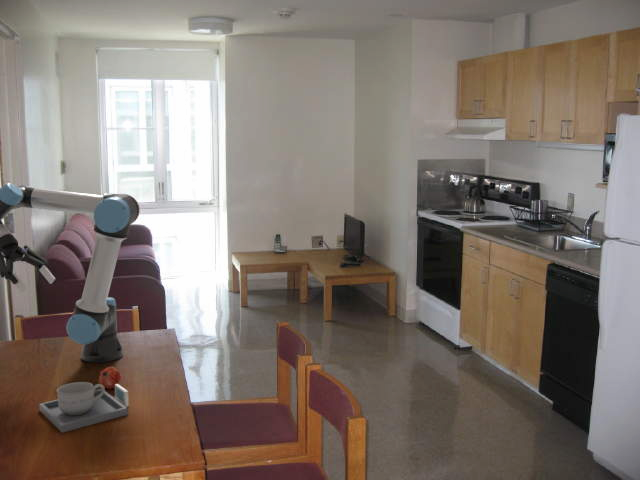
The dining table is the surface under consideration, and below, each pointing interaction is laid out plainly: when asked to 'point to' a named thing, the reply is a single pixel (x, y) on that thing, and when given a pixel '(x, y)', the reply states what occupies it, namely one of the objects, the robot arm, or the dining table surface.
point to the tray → (97, 413)
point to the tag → (121, 395)
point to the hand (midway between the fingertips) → (39, 285)
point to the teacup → (77, 397)
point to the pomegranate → (109, 377)
